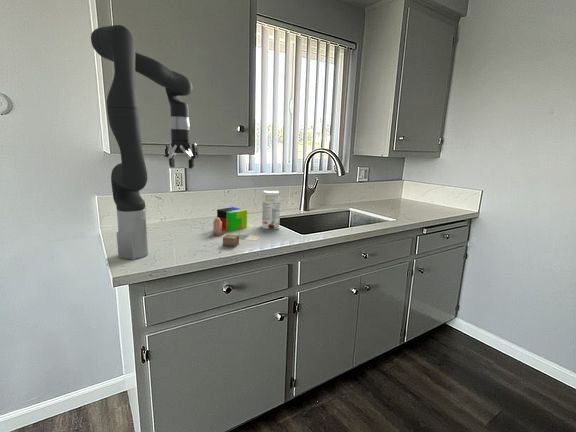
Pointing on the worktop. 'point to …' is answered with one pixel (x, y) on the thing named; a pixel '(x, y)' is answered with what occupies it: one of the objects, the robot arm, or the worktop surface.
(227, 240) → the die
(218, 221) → the pawn
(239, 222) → the puzzle toy
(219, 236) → the track
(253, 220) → the worktop surface
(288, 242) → the worktop surface
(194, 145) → the robot arm
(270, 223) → the white supplement bottle
